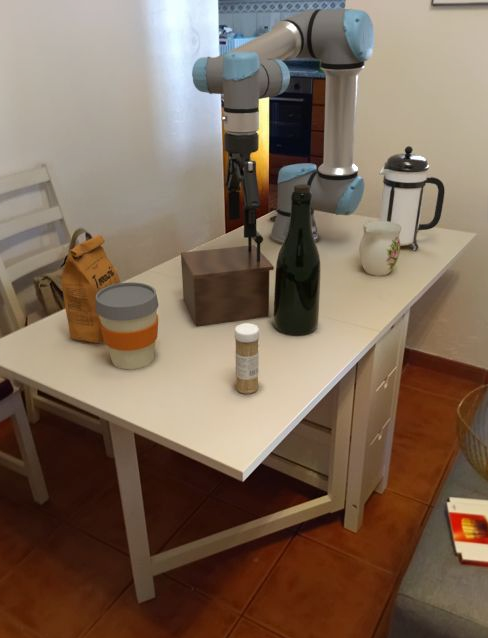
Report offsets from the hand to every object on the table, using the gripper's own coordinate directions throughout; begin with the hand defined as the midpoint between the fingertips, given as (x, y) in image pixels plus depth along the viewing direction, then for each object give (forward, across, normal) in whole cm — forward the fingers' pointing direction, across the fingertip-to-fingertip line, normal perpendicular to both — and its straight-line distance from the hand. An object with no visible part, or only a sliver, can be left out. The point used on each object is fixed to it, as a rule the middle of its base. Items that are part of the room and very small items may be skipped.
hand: (241, 227), depth 138 cm
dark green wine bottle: (+20, +14, +9) cm, 26 cm away
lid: (+8, 0, -4) cm, 9 cm away
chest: (+20, 0, -4) cm, 21 cm away
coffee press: (+20, -29, +60) cm, 70 cm away
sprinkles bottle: (+20, +36, -10) cm, 42 cm away
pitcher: (+20, -12, +44) cm, 50 cm away
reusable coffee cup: (+20, +18, -30) cm, 40 cm away
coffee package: (+21, +4, -36) cm, 41 cm away
